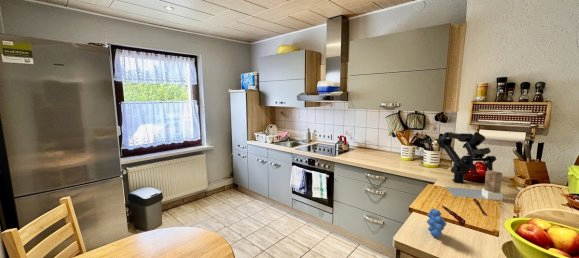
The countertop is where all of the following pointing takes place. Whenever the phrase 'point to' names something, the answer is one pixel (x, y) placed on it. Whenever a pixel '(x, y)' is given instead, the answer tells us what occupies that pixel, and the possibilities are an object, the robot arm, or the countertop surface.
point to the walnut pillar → (493, 181)
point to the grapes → (435, 223)
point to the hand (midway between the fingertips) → (484, 172)
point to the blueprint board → (475, 193)
